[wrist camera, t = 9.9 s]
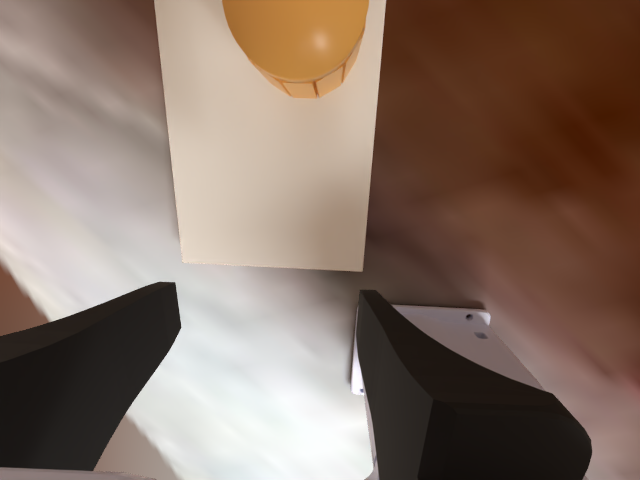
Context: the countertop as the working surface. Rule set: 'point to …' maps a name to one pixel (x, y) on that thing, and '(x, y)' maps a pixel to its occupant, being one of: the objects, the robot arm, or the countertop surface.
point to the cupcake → (299, 40)
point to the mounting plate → (265, 149)
